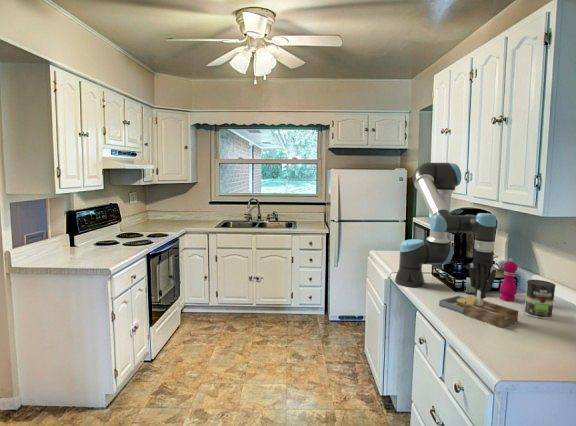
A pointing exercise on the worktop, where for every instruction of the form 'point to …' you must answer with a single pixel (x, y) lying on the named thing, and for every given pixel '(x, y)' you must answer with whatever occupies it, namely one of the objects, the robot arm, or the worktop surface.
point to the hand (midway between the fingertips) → (479, 304)
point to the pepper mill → (509, 281)
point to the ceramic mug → (469, 286)
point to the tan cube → (461, 302)
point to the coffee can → (539, 299)
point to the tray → (452, 304)
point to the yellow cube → (472, 300)
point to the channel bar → (492, 314)
